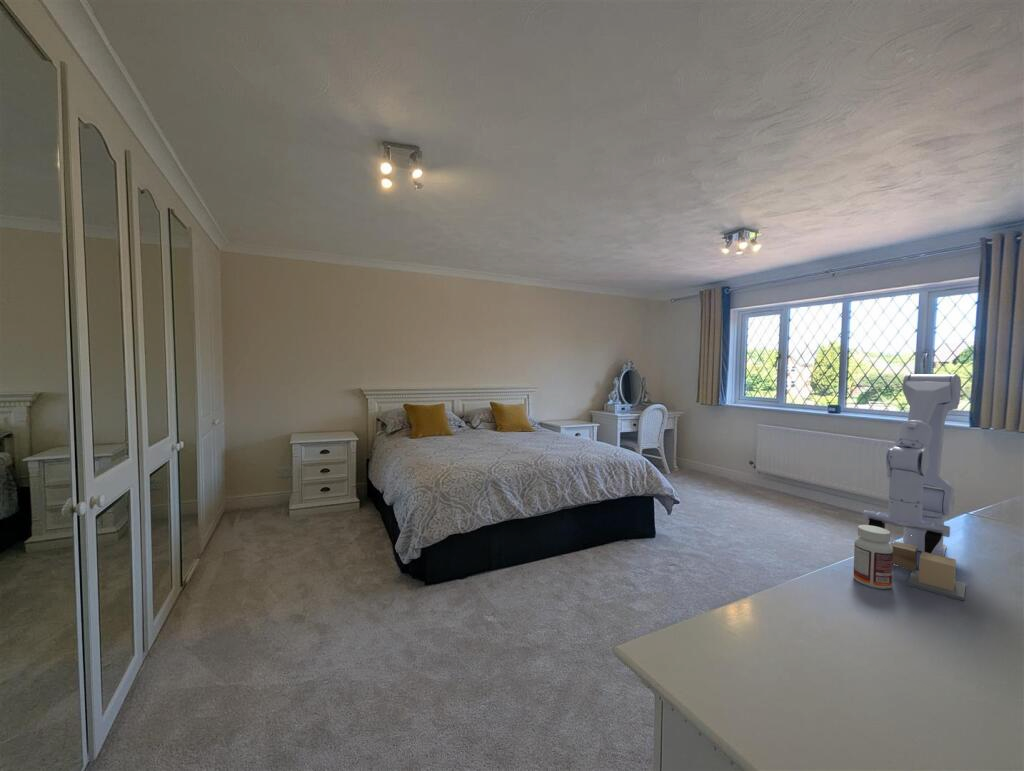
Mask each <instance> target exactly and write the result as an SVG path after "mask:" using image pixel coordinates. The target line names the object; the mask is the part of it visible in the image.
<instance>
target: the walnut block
mask: <svg viewBox="0 0 1024 771" xmlns="http://www.w3.org/2000/svg"><path fill="white" fill-rule="evenodd" d="M893 542H894V543H893ZM900 542H901V541H896V540H891V542H889V544H891V545H892V547H893V564H895V565H898V566H901V567H900V568H902V567H904V568H903V569H906V568H907V570H910V571H912V570H913V569H914V570H916V568H917V566H918V552H919V551H918V546H913V545H909V544H905V543H900ZM898 566H897V567H898Z"/></svg>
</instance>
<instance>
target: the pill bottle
mask: <svg viewBox="0 0 1024 771" xmlns="http://www.w3.org/2000/svg"><path fill="white" fill-rule="evenodd" d="M857 535H858V536H859V537H856V538H855V540H854V543H853V544H854V554H853V579H854V580H855V581H857V582H858V583H860V584H863V585H864V586H867V587H871V588H873V589H882V590H888V589H890V588H891V587H892V585H893V566H894V565H893V547H892V545H891V544H890V541H891V532H890V530H888V529H886V528H885V529H884V528H880V527H876V526H871V525H869V524H859V525H858V526H857Z"/></svg>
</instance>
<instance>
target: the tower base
mask: <svg viewBox="0 0 1024 771" xmlns="http://www.w3.org/2000/svg"><path fill="white" fill-rule="evenodd" d="M956 562H957V560H956V558H951V557H947V556H945V555H944V556H939V555H935V554H931V553H926V552H922V551H921V554H920V557H919V562H918V563H919V566H918V570H917V569H915V570H914V569H913V570H911V572H910V575H909V578H908V580H907V584H906V585H907V586H910V587H913V588H917V589H921V590H925V591H928V592H932V593H933V594H938V595H943V596H946V597H948V598H949V597H950V598H952V599H957V600H959V601H965V594H966V588H967V586H966V582H963V581H959V580H956V564H957V563H956Z"/></svg>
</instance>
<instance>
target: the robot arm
mask: <svg viewBox="0 0 1024 771" xmlns="http://www.w3.org/2000/svg"><path fill="white" fill-rule="evenodd" d="M961 391H962V379H961V376H959V375H958V374H957V373H952V374H940V373H939V374H934V373H933V374H927V373H926V374H925V373H924V374H923V373H922V374H921V373H920V374H919V373H917V374H915V373H913V374H912V373H907V374H906V375H905V376H904V377H903V381H902V392H903V395H904V397H905V400H906V402H907V403H908V406H909V410H908V411H909V412H908V419H907V421H904V422H902V423H900V425H899V427H898V431H897V434H896V438H895V440H894V443H893V444H894V445H893V447H889V448H888V449H887V452H886V456H885V465H886V469H887V473H886V475H887V478H888V479H889V481H888V482H889V485H888V486H889V487H888V507H887V508H888V509H887V510H888V511H887V512H882V511H881V512H880V511H874V510H873V511H872V510H867V509H864V510H863V512H862V520H864V521H869V522H868V524H867V525H871V526H876V527H880V528H884V529H886V524H888V525H894V526H898V527H902V528H903V537H902V539H903V540H902V539H901V541H899V542H900V543H905V544H909V545H913V546H918V552H921V553H922V552H926V553H931V554H935V555H939V556H944V557H945V554H946V550H947V544H944V537H945V538H950V537H951V536H950V534H951V526H949V525H945V517H949V516H951V515H952V514H953V512H954V506H955V495H954V493H955V489H954V487H953V485H952V484H951V483H950V482H949V481H947V480H946V479H945V478H944V477H942V476H941V475H940V471H941V463H942V453H943V443H944V432H945V422H946V418H947V416H948V413H949V412H951V411H954V410H957V409H958V406H959V405H960V399H961ZM927 486H928V487H927ZM939 488H940V489H939ZM911 535H912V536H911Z"/></svg>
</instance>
